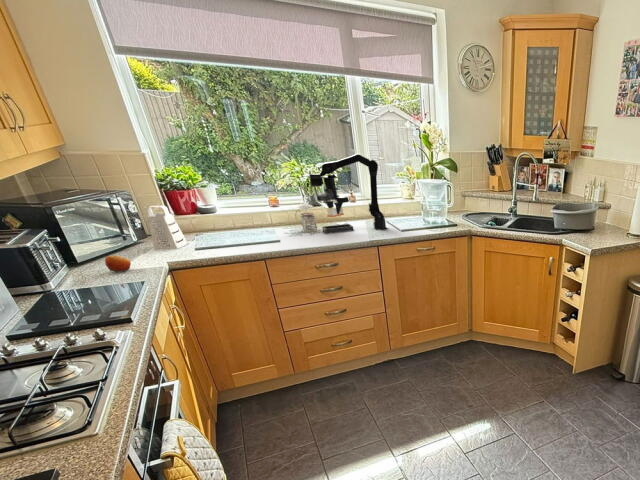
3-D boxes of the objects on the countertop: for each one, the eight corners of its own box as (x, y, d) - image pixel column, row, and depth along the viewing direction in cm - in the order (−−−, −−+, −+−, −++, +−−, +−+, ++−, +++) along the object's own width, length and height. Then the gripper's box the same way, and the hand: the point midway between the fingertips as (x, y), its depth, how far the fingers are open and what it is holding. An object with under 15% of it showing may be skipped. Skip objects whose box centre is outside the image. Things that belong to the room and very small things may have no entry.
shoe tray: (349, 227, 260) (349, 223, 259) (353, 230, 254) (353, 226, 253) (322, 230, 252) (322, 226, 251) (326, 233, 246) (325, 229, 245)
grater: (177, 248, 211) (162, 208, 201) (154, 249, 209) (137, 208, 199) (187, 243, 220) (173, 204, 210) (166, 243, 218) (150, 204, 208)
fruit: (98, 270, 174) (102, 252, 175) (120, 274, 182) (124, 257, 182) (110, 272, 172) (114, 254, 172) (132, 277, 180) (136, 259, 180)
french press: (321, 230, 251) (312, 187, 239) (300, 233, 245) (290, 188, 233) (317, 227, 258) (308, 185, 246) (297, 229, 253) (287, 186, 240)
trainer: (338, 213, 253) (336, 206, 251) (343, 214, 252) (342, 206, 250) (327, 216, 245) (325, 208, 243) (333, 217, 244) (331, 209, 242)
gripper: (307, 186, 237) (313, 214, 244) (333, 189, 231) (338, 217, 239) (321, 184, 246) (326, 211, 253) (347, 186, 240) (351, 214, 248)
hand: (335, 213), depth 248 cm, fingers closed on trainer, 4 cm apart
